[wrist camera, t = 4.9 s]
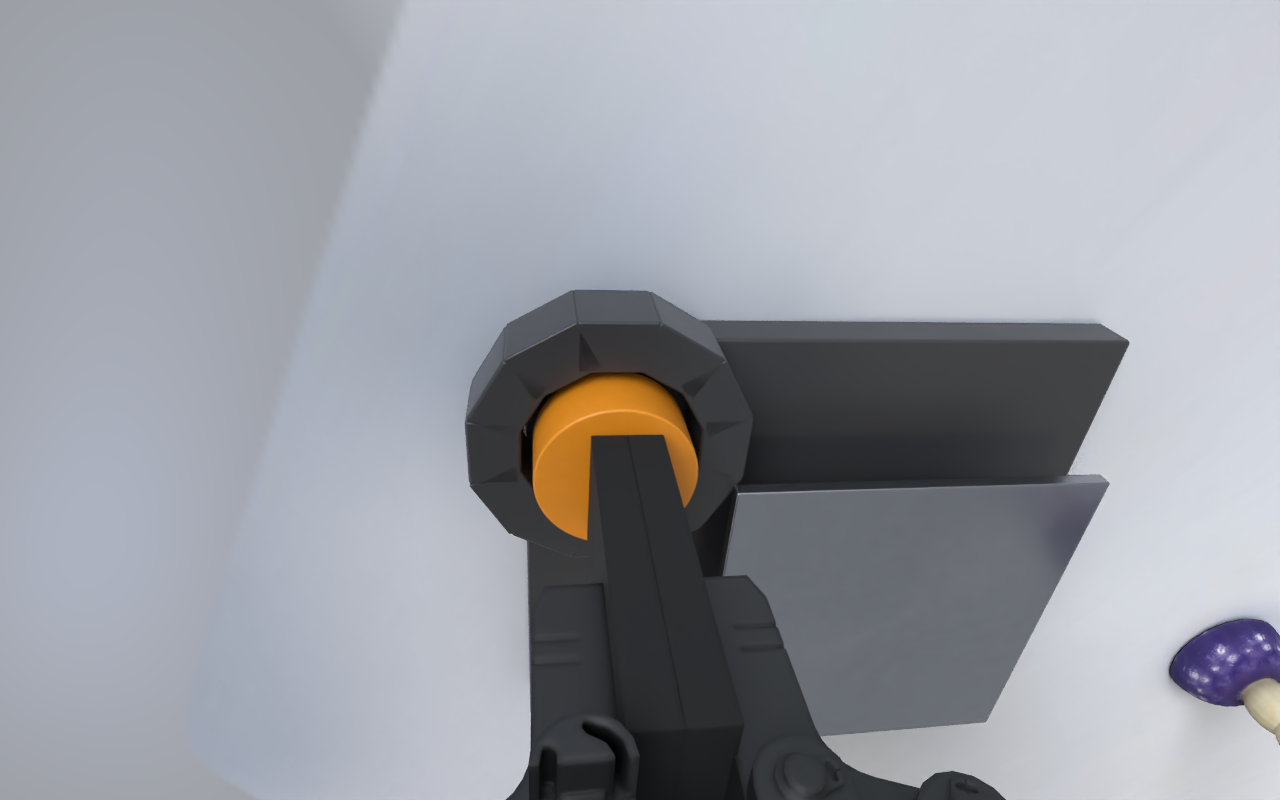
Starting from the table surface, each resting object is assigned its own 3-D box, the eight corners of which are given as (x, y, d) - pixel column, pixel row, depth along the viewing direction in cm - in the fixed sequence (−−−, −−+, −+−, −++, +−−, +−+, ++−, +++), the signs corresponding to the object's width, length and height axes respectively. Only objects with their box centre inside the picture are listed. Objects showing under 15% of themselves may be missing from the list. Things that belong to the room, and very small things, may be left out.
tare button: (533, 498, 17) (533, 547, 16) (531, 369, 15) (531, 411, 14) (676, 493, 18) (690, 540, 16) (691, 368, 16) (708, 409, 14)
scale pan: (689, 735, 22) (692, 747, 21) (733, 484, 17) (737, 493, 16) (979, 712, 23) (986, 722, 23) (1100, 473, 18) (1110, 482, 18)
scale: (494, 687, 24) (489, 771, 21) (468, 268, 16) (456, 321, 14) (952, 656, 26) (997, 728, 24) (1119, 280, 19) (1212, 327, 16)
